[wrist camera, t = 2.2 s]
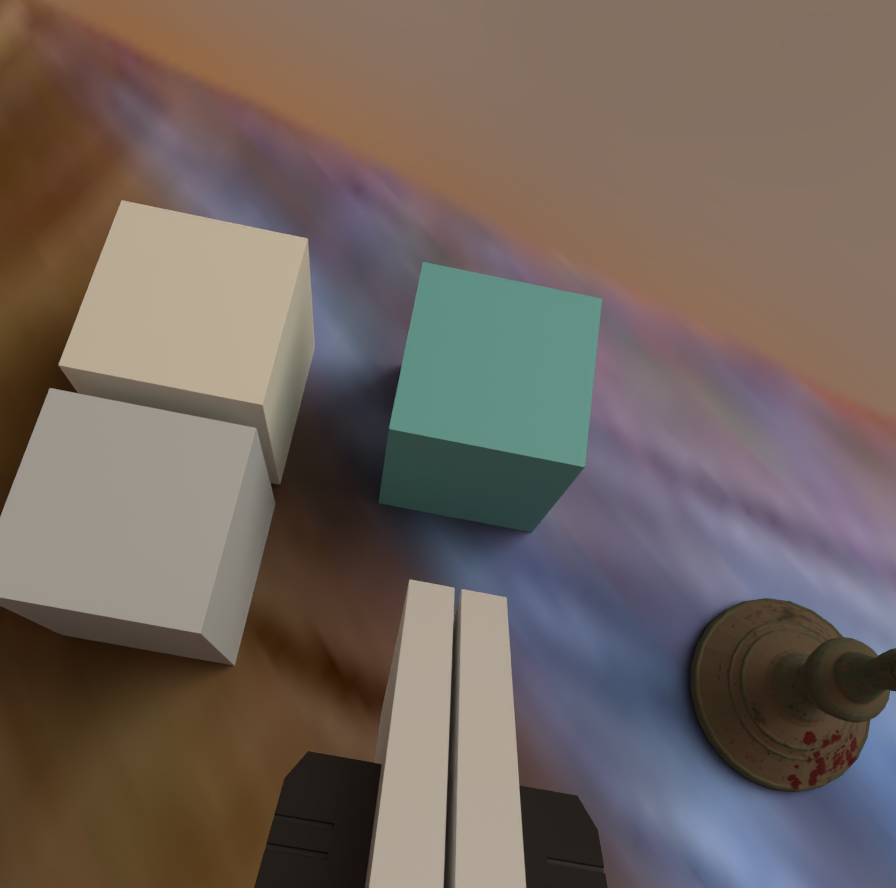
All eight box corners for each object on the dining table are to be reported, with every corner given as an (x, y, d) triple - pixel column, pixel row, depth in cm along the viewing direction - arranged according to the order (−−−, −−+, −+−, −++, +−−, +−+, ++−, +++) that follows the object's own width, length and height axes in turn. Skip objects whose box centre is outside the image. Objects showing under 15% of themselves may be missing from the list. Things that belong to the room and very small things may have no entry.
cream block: (280, 485, 42) (262, 404, 32) (121, 455, 41) (58, 364, 32) (314, 347, 45) (307, 238, 35) (167, 318, 44) (121, 200, 35)
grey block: (234, 665, 38) (200, 633, 29) (61, 634, 38) (-29, 592, 29) (275, 503, 41) (256, 428, 32) (115, 473, 41) (49, 387, 32)
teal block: (531, 532, 42) (584, 467, 33) (378, 503, 42) (388, 428, 33) (548, 394, 45) (602, 298, 36) (406, 365, 45) (423, 261, 36)
